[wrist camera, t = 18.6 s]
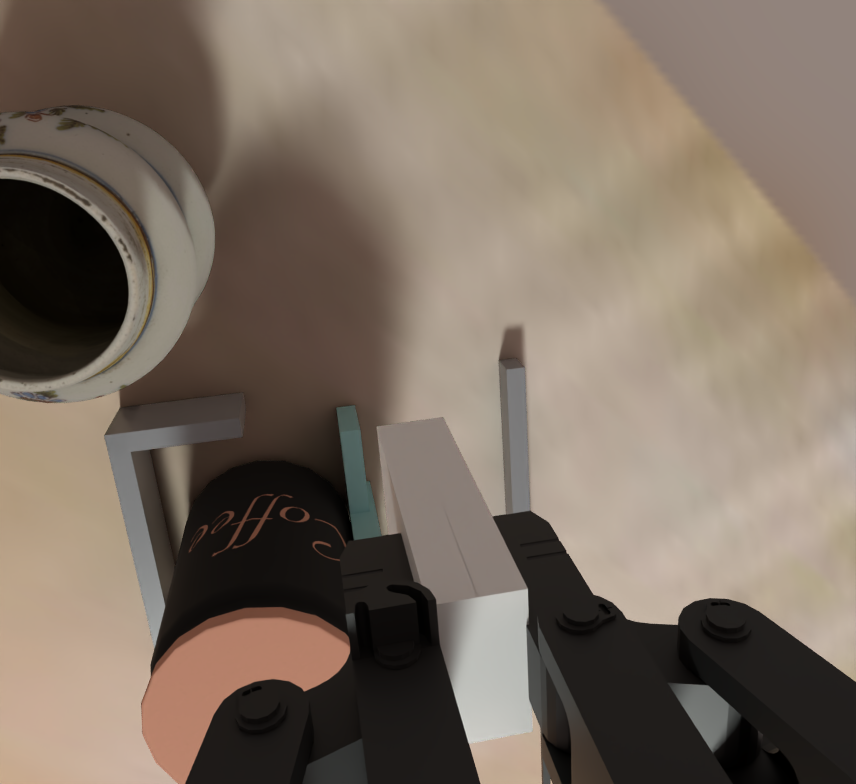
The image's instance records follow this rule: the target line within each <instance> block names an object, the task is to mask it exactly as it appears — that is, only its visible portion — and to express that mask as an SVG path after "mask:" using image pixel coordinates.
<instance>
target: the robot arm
mask: <svg viewBox="0 0 856 784" xmlns="http://www.w3.org/2000/svg"><path fill="white" fill-rule="evenodd" d="M377 435H378V444H379V453H380V463H381V472H382V481H383V490H384V500H385V509H386V518H387V527H388V535H384V536H378V537H372V538H365V539H359V540H353V541H348V543H347V545H346V547H345V549H344V551H343V552H342V554H341V556H340V566H341V574H342V582H343V590H344V598H345V606H346V620H347V628H348V635H349V642H350V654H349V656H348V658H347V661H346V663H345V664H344V665H343V667H342V668H341V669H340V670H339V672H337V673H336V674H335V675H334V676H332V677H331V678H330V679H329V680H327V681H325V682H323V683H321V684H320V685H318V686H316V687H313V688H311V689H309V690H307V691H303V689H302V688H301V687H299V686H297V685H295V684H293V683H292V682H290V681H284V680H277V679H269V680H263V681H256V682H253V683H251V684H248V685H246V686H244V687H241V688H239V689H237V690H236V691H234V692H233V693H232V694H231V695H229V696H228V697H227V698H225V699H224V700H223V701H222V703H221V704H220V706H219V707H218V709H217V710H216V712H215V713H214V715H213V718H212V720H211V723H210V725H209V727H208V730H207V732H206V735H205V737H204V739H203V742H202V744H201V747H200V749H199V751H198V754H197V756H196V759H195V761H194V763H193V766H192V768H191V771H190V773H189V775H188V778H187V780H186V783H185V784H480V781H479V777H478V774H477V770H476V767H475V763H474V760H473V757H472V753H471V750H470V746H469V744H471V743H476V742H481V741H486V740H491V739H497V738H502V737H507V736H512V735H517V734H522V733H527V732H532V731H533V729H532V708H533V710H534V713H535V715H536V718H537V720H538V723H539V725H540V728H541V761H542V784H550V779H551V780H552V783H553V784H856V682H855V681H854V680H852V679H851V678H850V677H848V676H847V675H845V674H844V673H843V672H841V671H840V670H839V669H837V668H836V667H834V666H833V665H832V664H830V663H829V662H828V661H826V660H825V659H824V658H822V657H821V656H819V655H818V654H817V653H815V652H814V651H813V650H811V649H810V648H808V647H807V646H806V645H804V644H803V643H802V642H800V641H799V640H797V639H796V638H795V637H793V636H792V635H791V634H789V633H788V632H786V631H785V630H784V629H782V628H781V627H780V626H778V625H777V624H776V623H774V622H773V621H771V620H770V619H769V618H767V617H766V616H765V615H763V614H762V613H760V612H759V611H757V610H755V609H753V608H751V607H750V606H748V605H746V604H744V603H740V602H736V601H732V600H729V599H715V598H709V599H704V600H699V601H694V602H693V603H691V604H690V605H688V606H686V607H685V608H683V610H682V612H681V614H680V616H679V619H678V625H666V624H648V623H640V622H634V621H631V620H627V619H626V618H625V616H624V615H623V613H622V612H621V611H620V610H619V609H618V608H617V607H616V606H615V605H614V604H613V603H612V602H610V601H608V600H606V599H604V598H602V597H600V596H596V595H593V593H592V592H591V590H590V588H589V587H588V585H587V584H586V582H585V580H584V579H583V577H582V576H581V574H580V572H579V571H578V569H577V567H576V566H575V564H574V563H573V561H572V559H571V558H570V556H569V554H567V553H566V550H565V548H564V546H563V545H562V543H561V541H559V539H558V537H557V535H556V533H555V532H554V530H553V528H552V527H551V525H550V524H549V522H547V521H546V520H544V519H542V518H541V517H539V516H538V515H536V514H535V513H533V512H531V511H525V512H518V513H512V514H506V515H499V516H493V517H492V515H491V513H490V511H489V509H488V507H487V505H486V503H485V501H484V499H483V497H482V495H481V493H480V491H479V489H478V487H477V485H476V483H475V481H474V479H473V477H472V475H471V473H470V471H469V468H468V466H467V464H466V462H465V460H464V458H463V456H462V454H461V452H460V450H459V448H458V446H457V444H456V442H455V440H454V438H453V436H452V434H451V432H450V430H449V428H448V426H447V424H446V422H445V420H444V418H443V417H440V418H433V419H426V420H419V421H412V422H404V423H397V424H390V425H383V426H377Z"/></svg>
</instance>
